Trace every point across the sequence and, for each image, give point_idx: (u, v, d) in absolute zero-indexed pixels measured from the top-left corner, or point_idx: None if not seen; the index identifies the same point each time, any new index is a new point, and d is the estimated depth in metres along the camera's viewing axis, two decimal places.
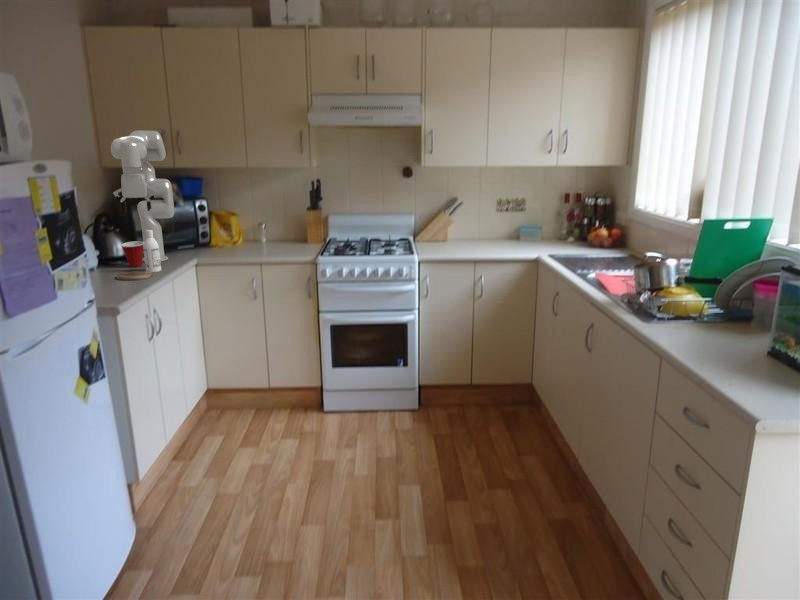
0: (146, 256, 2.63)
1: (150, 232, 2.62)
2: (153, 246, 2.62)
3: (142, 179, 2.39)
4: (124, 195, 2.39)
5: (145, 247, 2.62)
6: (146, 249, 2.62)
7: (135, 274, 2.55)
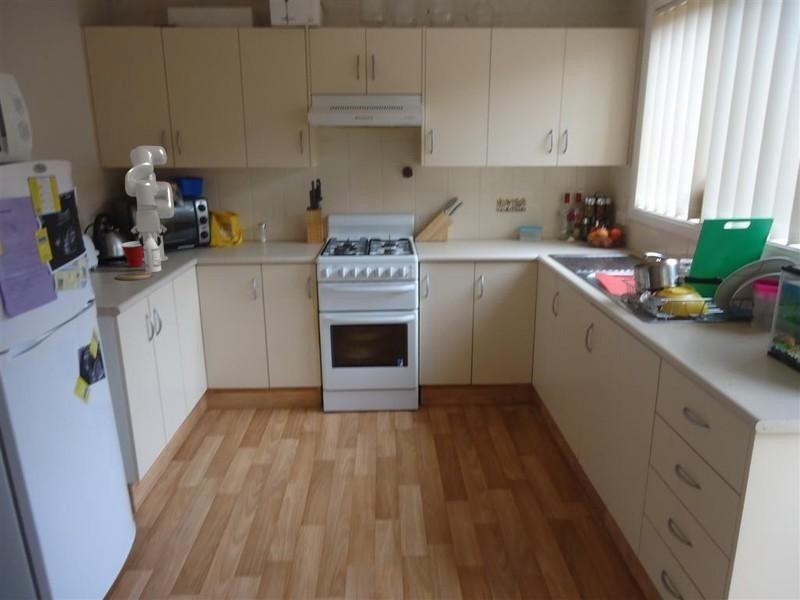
0: (146, 256, 2.63)
1: (150, 232, 2.62)
2: (153, 246, 2.62)
3: (155, 215, 2.60)
4: (139, 230, 2.60)
5: (145, 247, 2.62)
6: (146, 249, 2.62)
7: (135, 274, 2.55)
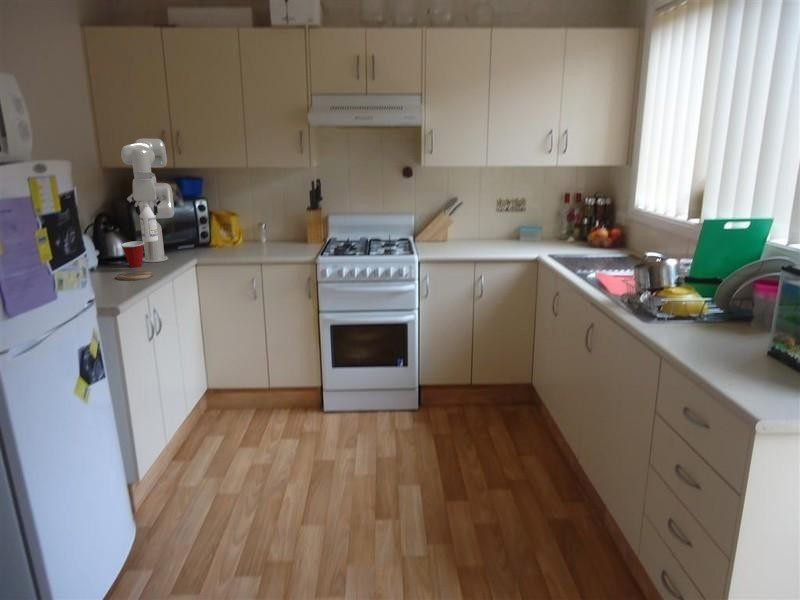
0: (143, 225, 2.59)
1: (147, 201, 2.58)
2: (150, 215, 2.59)
3: (152, 184, 2.56)
4: (135, 199, 2.56)
5: (142, 216, 2.58)
6: (143, 218, 2.58)
7: (135, 274, 2.55)
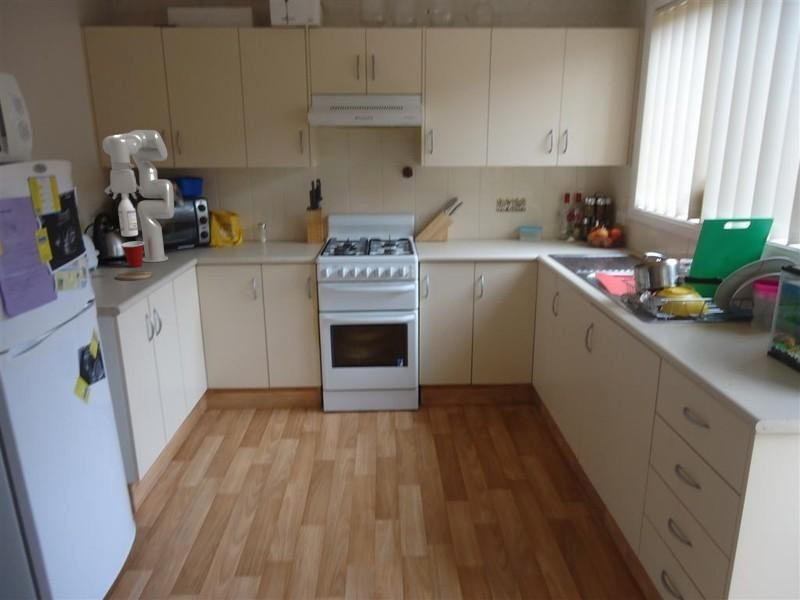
0: (121, 219, 2.45)
1: (125, 193, 2.45)
2: (129, 208, 2.45)
3: (131, 175, 2.43)
4: (113, 190, 2.42)
5: (120, 209, 2.44)
6: (121, 211, 2.44)
7: (135, 274, 2.55)
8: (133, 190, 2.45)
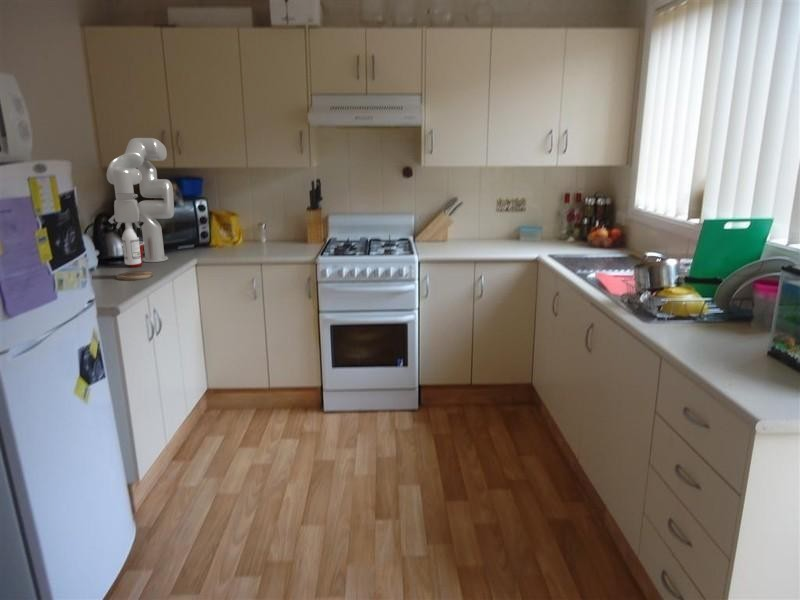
0: (125, 247, 2.49)
1: None
2: (132, 237, 2.49)
3: (134, 204, 2.46)
4: (117, 220, 2.46)
5: (124, 238, 2.48)
6: (125, 240, 2.48)
7: (135, 274, 2.55)
8: (137, 219, 2.48)
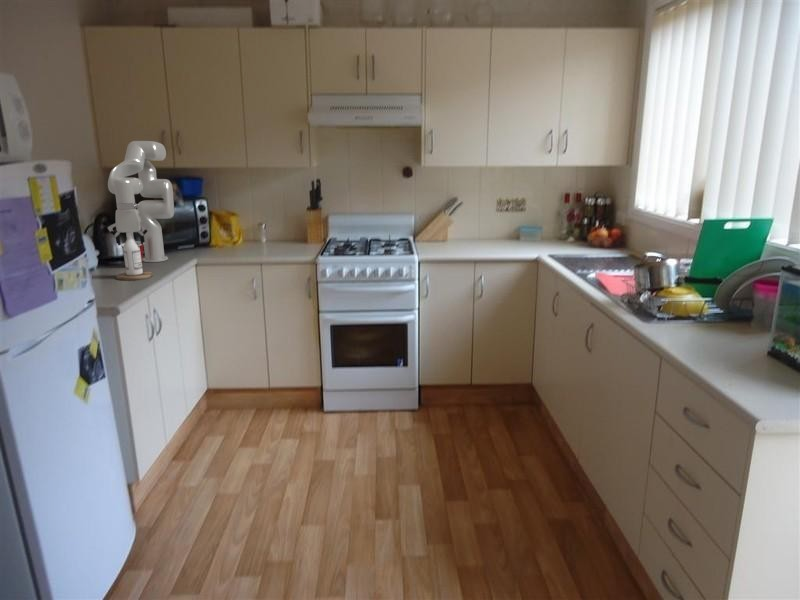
0: (126, 258, 2.51)
1: (130, 233, 2.50)
2: (133, 248, 2.50)
3: (136, 214, 2.47)
4: (118, 230, 2.47)
5: (125, 249, 2.50)
6: (126, 251, 2.49)
7: None
8: (138, 229, 2.49)
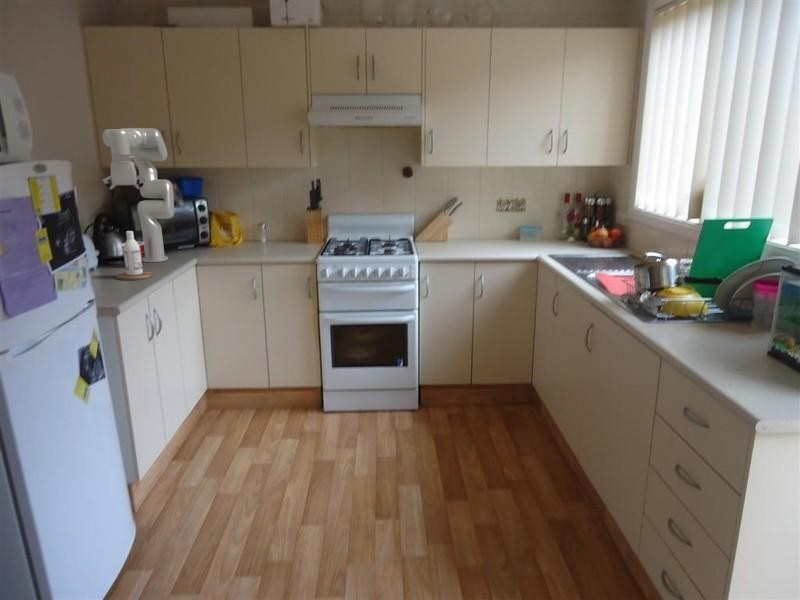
0: (126, 258, 2.51)
1: (130, 233, 2.50)
2: (134, 248, 2.50)
3: (131, 166, 2.42)
4: (113, 182, 2.42)
5: (125, 249, 2.50)
6: (127, 251, 2.49)
7: None
8: (133, 182, 2.44)
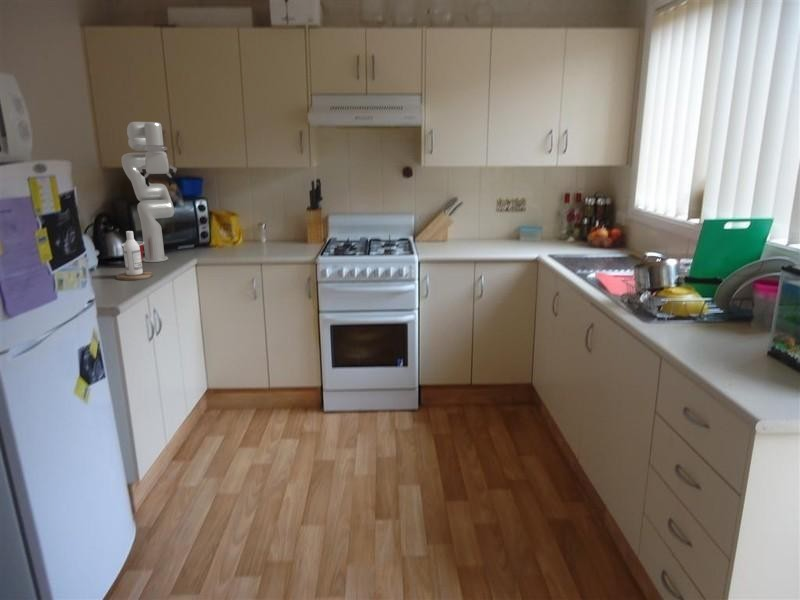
0: (126, 258, 2.51)
1: (130, 233, 2.50)
2: (133, 248, 2.50)
3: (164, 156, 2.60)
4: (148, 171, 2.60)
5: (125, 249, 2.50)
6: (127, 251, 2.49)
7: None
8: (166, 171, 2.62)
